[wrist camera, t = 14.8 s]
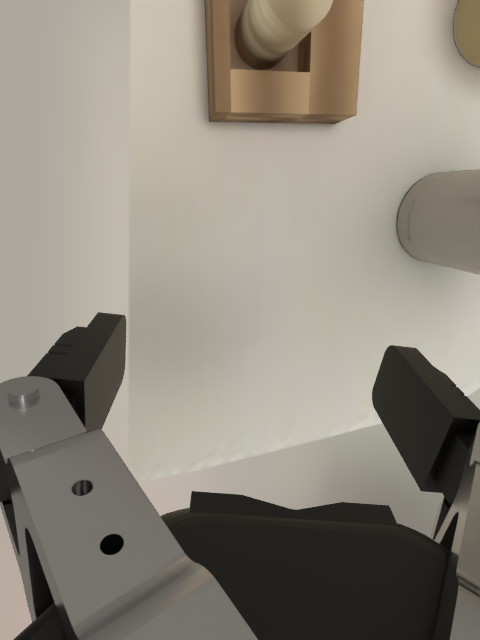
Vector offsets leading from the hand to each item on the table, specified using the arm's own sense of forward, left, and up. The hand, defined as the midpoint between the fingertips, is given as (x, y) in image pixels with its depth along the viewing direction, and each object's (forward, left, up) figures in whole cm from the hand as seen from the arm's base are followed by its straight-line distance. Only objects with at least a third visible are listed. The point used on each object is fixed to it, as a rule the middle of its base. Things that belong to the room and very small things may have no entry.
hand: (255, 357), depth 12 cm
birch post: (-7, -17, -26) cm, 32 cm away
